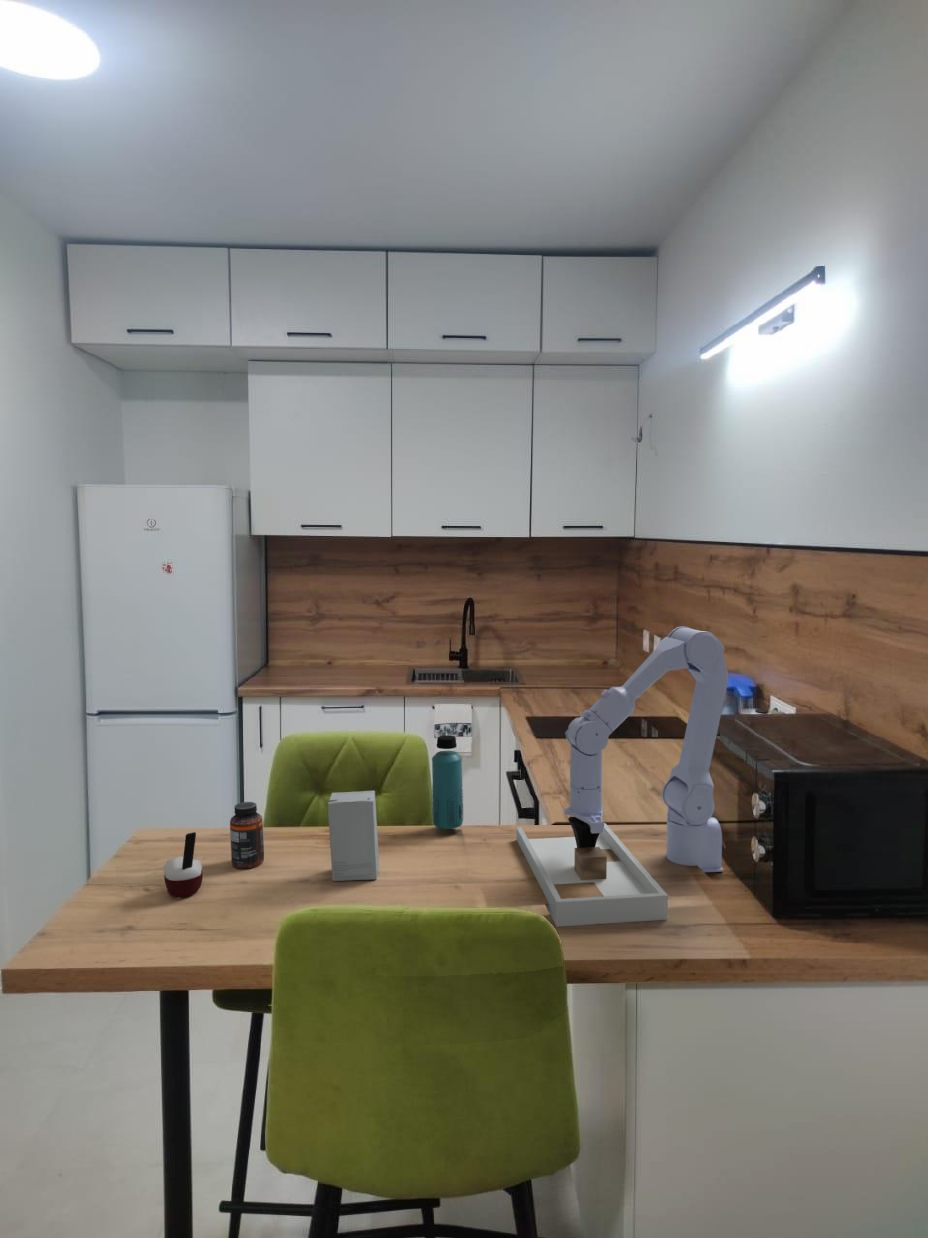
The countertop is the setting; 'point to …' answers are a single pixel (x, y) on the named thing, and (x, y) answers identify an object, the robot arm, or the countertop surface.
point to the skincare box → (353, 836)
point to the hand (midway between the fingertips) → (585, 858)
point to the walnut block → (590, 863)
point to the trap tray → (623, 889)
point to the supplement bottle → (246, 836)
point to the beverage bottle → (447, 785)
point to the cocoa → (184, 871)
